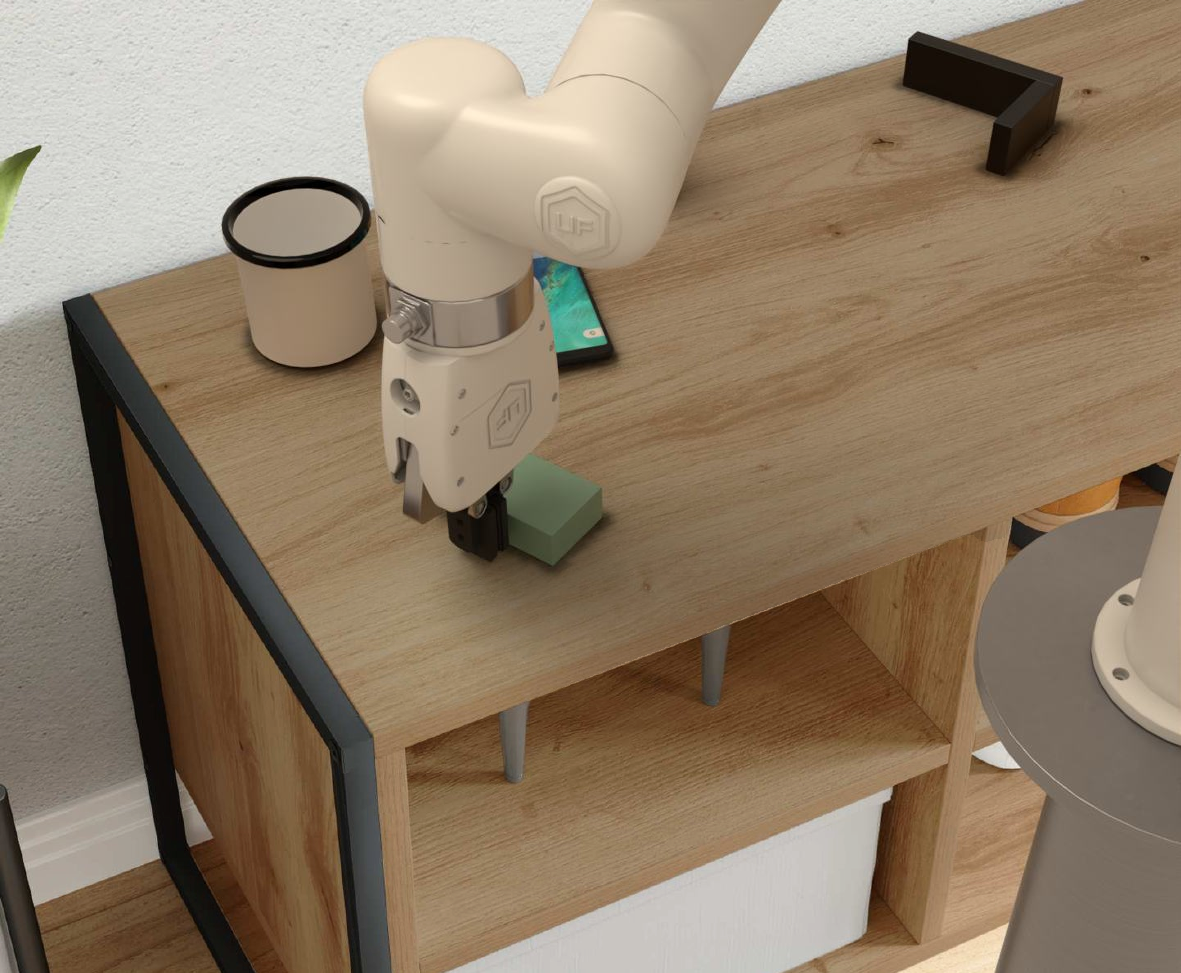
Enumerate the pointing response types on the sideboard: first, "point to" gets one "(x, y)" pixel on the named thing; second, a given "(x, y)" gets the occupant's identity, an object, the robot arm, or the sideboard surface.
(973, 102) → the corner stop
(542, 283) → the smartphone
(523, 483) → the slider block
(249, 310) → the mug
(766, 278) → the sideboard surface
